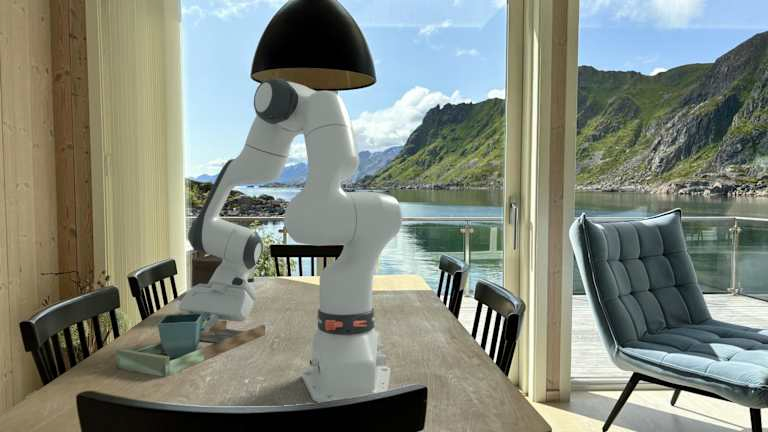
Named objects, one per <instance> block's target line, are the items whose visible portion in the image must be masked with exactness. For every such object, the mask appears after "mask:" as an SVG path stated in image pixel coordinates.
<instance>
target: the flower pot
mask: <svg viewBox="0 0 768 432" xmlns="http://www.w3.org/2000/svg"><path fill="white" fill-rule="evenodd" d="M202 321H203V314H202V313H199V314H183V313H182V314H169V315H165V316H164V317H163V318H162V319H161V320H160V321H158V323H157V327H158V333H159V335H158V336H159V339H160V340H159V341H160V342H161V345H162V347H163V349H164V351H165V353H164V354H166V356H169V357H170V359H176V358H179V357H182V356H184V355H187V354H189V353H192V352H194V351H197V348H198V345H199V343H200V342H201V341H200V338H201V333H202Z"/></svg>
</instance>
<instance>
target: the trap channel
mask: <svg viewBox="0 0 768 432" xmlns="http://www.w3.org/2000/svg"><path fill="white" fill-rule="evenodd" d="M213 334H214V335H213ZM265 335H266V325H264V324H261V325H258V326H256V327H253V328H251V329H248V330H246V331H245V330H237V329H230V328H227V320H221V321H220V320H219V321H218V323H217V324H215V325H214V326H213V327H212V328H210V330H209V332H208V333H201V338H200V340H201V341H200V342H204V341H207V342H206V343H211V342H215V343H212V344H210V345H207V346H205V347H201V348H200V349H198V350H197V349H196V350H195V351H194V352H192V353H189V354H187V355H184V356H182V357H179V358H173V359H172V360H170V359H171V358H170V357H169V356H168V355H162V354H164V353H163V352H165V351H164V349H163V347H162V345H161V341H158V342H156V343H153V344H151V345H148V346H145V347H142V348H141V347H140V348H139V349H135V350H129V349H124V348H119V349H116V350H115V363H116V364H115V365H116V369H118V370H123V371H124V370H125V371H131V372H136V373H142V374H149V375H153V376H159V377H164V378H165V377H169V376H171V375H174V374H175V373H178V372H180V370H181V371H183V370H185V369H187V368H186V367H188V368H190V367H192V366H194V365H193V364H195V365H196V363H197V364H199V363H202V362H204V361H206V360H208V359H207V358H209V359H211V358H213V357H212V356H214V357H215V355H216V356H218V355H220V354H219V353H221V354H222V352H223V353H225V352H227V350H228V351H230V350H232V349H235V348H237V347H239V346H242V345H243V344H246V343H249V342H251V341H254V340H255V339H258V338H261V337H263V336H265ZM236 346H237V347H236ZM234 347H235V348H234ZM229 349H230V350H229ZM224 351H225V352H224ZM160 353H162V354H160ZM158 354H159V355H158ZM217 354H218V355H217ZM210 357H211V358H210ZM205 359H206V360H205ZM203 360H204V361H203ZM201 361H202V362H201ZM198 362H199V363H198ZM191 365H192V366H191ZM189 366H190V367H189ZM184 368H185V369H184ZM182 369H183V370H182ZM173 373H174V374H173Z"/></svg>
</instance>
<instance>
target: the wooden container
mask: <svg viewBox="0 0 768 432" xmlns="http://www.w3.org/2000/svg"><path fill="white" fill-rule="evenodd" d="M222 261H223V259H222V258H219V257H216V256H213V255H210V254H207V255H203V256H196V257H195V256H194V257H193V258H192V259H191V267H192V268H191V269H192V271H191V288H192V287H194V286H196V285H198V284H208V283H209V281H210V279H211V277H212V276H213V274H214V272H215V271H216V269H217V267H218V266H220V265H221V263H222ZM207 320H210V318H207Z"/></svg>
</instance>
